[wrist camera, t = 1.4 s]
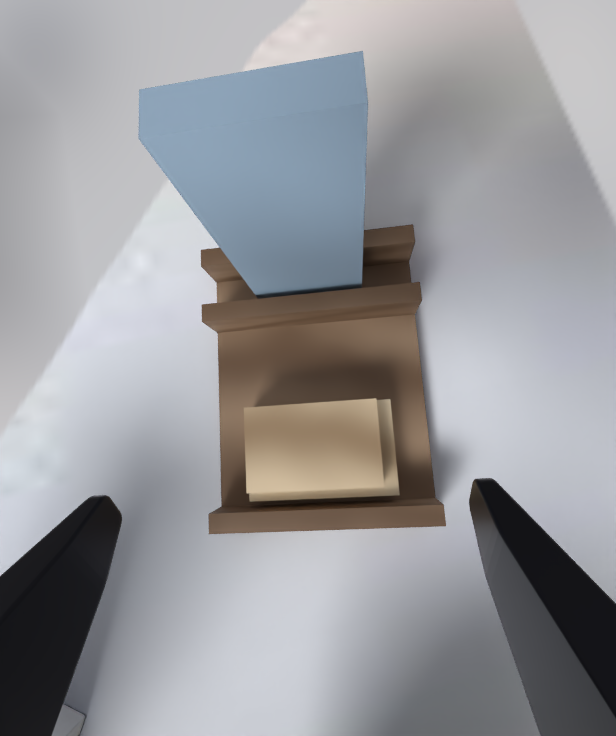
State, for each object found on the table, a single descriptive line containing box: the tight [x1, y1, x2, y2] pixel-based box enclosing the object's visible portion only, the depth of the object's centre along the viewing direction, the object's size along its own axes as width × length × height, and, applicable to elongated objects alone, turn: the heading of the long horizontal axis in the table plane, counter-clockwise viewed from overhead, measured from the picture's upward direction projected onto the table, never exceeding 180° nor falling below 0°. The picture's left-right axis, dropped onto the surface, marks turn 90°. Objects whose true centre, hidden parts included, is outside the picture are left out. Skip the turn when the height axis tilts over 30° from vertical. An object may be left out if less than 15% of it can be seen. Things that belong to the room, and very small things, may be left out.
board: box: [139, 51, 368, 299], centre depth 17 cm, size 2×6×14 cm, turn 94°
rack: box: [201, 225, 446, 534], centre depth 22 cm, size 17×12×3 cm
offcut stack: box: [244, 398, 400, 502], centre depth 21 cm, size 5×8×2 cm, turn 94°
